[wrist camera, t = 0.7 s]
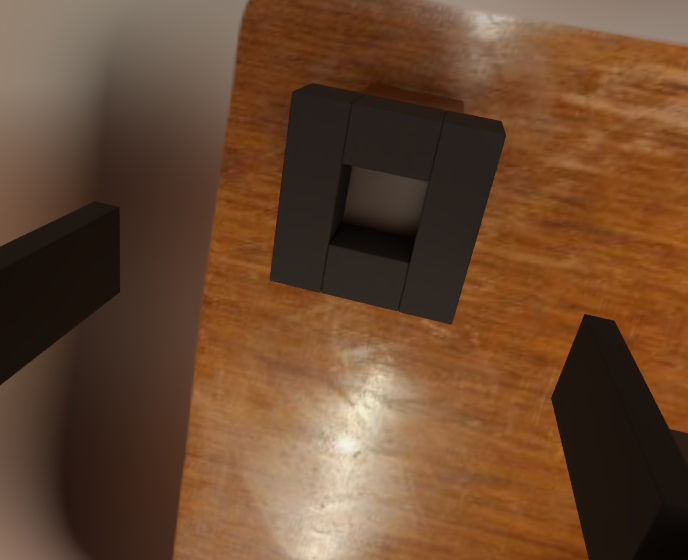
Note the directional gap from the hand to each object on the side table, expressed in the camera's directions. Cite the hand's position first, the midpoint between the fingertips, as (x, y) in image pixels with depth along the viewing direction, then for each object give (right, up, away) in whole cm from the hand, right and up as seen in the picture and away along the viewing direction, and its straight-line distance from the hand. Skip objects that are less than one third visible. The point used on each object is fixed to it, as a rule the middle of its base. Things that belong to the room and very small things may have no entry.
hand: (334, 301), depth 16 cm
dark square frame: (+2, +4, +9) cm, 11 cm away
